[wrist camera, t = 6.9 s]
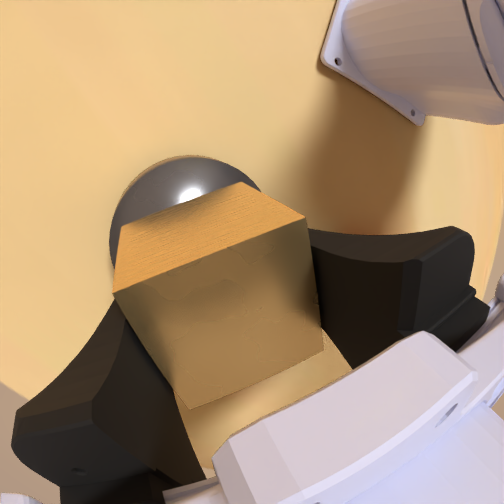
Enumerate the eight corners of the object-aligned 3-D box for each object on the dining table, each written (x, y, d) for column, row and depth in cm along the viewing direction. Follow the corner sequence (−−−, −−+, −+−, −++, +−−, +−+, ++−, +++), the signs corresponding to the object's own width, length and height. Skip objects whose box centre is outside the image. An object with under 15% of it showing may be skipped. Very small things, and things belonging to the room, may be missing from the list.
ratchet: (417, 225, 21) (462, 247, 17) (380, 311, 24) (416, 341, 20) (129, 139, 12) (122, 144, 8) (104, 290, 15) (97, 348, 10)
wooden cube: (241, 181, 12) (305, 216, 7) (267, 283, 14) (323, 350, 10) (121, 226, 10) (112, 293, 6) (167, 324, 13) (189, 409, 9)
